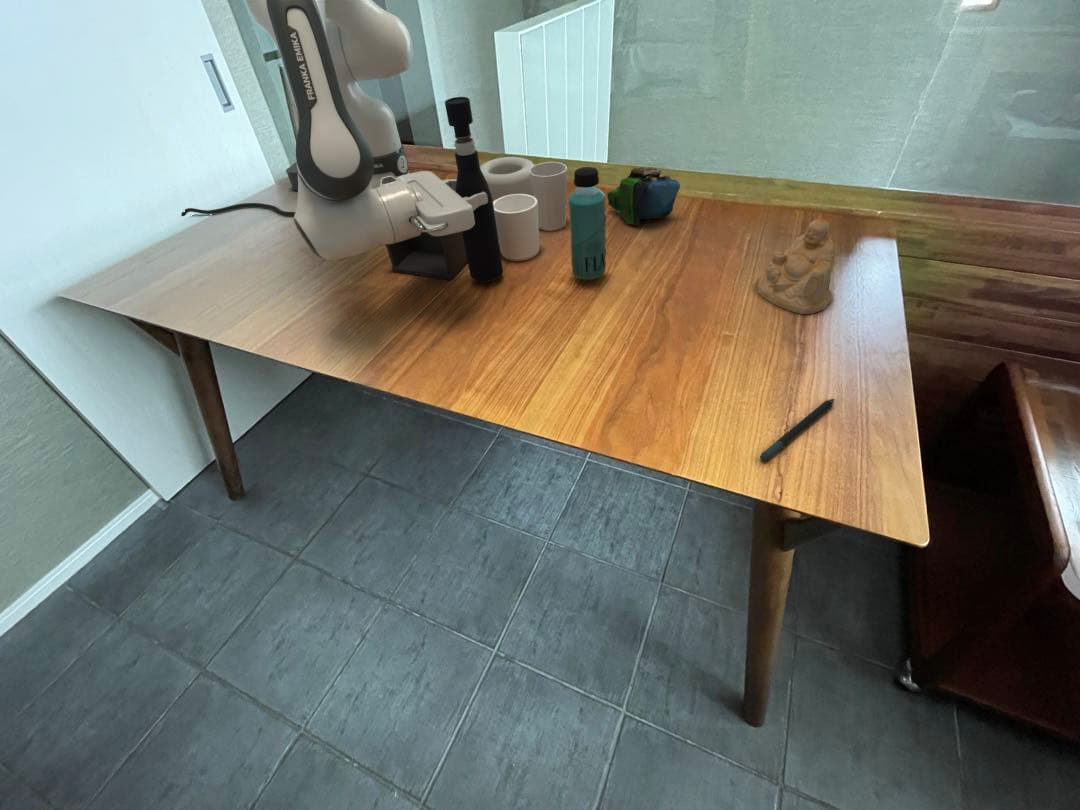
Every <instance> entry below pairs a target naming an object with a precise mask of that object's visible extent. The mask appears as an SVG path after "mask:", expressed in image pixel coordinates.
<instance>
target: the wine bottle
mask: <svg viewBox="0 0 1080 810" xmlns="http://www.w3.org/2000/svg"><path fill="white" fill-rule="evenodd" d="M470 100H471V99H470V98H469V97H467V96H457V97H451V98H448V99H446V100H445V101H444V106H445V112H446V117H447V123H448V126H450V127H452V128H453V132H454V138H455V140H454V144H453V146H454V148H455V150H454V151H455V153H454V157H455V164H456V168H457V174H456V179H457V181H456V193H457V194H458V195H460V196H461V197H462V198H464V197H468V198H469V197H471V196H473V195H474V192H479V191H481V190H482V191H484V192H485V193H486V194H487V197H488V203H486V204H483V205H480V206H479V207H477V208H476V209H475V210H474V211H473V213H474V219H475V225H474V226H473V227H472V228H471V229H469V230H465V231H462V235H463V240H464V245H465V250H466V256H467V261H468V263H467V266H468V269H469V275H470V278H471V279H472V280H474V281H476V282H481V283H488V282H492V281H496V280H498V279H499V278H500V277H501V276H502V275H503V273H504V268H503V267H504V266H503V261H502V254H501V249H500V244H499V239H498V233H497V226H496V219H495V212H494V205H493V199H492V195H491V192H490V189H489V186H488V184H487V181H486V179H485V177H484V175H483V173H482V171H481V169H480V166H481V164H480V160H479V154H478V153H479V152H478V151H477V149H476V146H475V144H476V142H475V141H474V139H473V138H472V133H471V128H470V125H471V124H473V123H474V120H473V112H472V107H471V106H472V105H471V101H470Z"/></svg>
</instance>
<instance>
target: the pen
mask: <svg viewBox="0 0 1080 810" xmlns="http://www.w3.org/2000/svg"><path fill="white" fill-rule="evenodd" d="M834 402H835V398H830V399H827V400H825V401H824V402H822V403H821V404H820V405H818V406H817V407H816V408H815V409H814V410H813V411H812V412H810V413H809V414H808V415H807V416H805V417H804V418H803V419H802V420H800V421H799V422H798V423H797V424H795V425H794V426H793V427H792V428H791V429H789V430H788V431H787V432H786V433H785V434H784V435H782V436H781V437H780V438H779V439H778V440H776V441H775V442H774V443H773V444H771V445H770V446H769V447H768V448H766V449H765V450H764V451H762V452H761V454H760V455H759V458H760V460H761V461H763V462H766V461H768V460H769V459H771V458H772V457H773V456H774V455H775V454H776V453H778V452H779V451H780V450H781V449H782V448H784V447H785V446H786V445H788V443H789V442H791V441H792V440H793V439H794V438H795V437H796V436H798V435H799V434H800V433H801V432H803V431H804V430H805V429H806V428H807V427H809V426H810V425H811V424H812V423H813V422H815V421H816V420H817V419H818V418H819V417H821V416H822V415H823V414H824V413H825V412H827V411H828V410H829V409H830V408H831V407H832V406H833V404H834Z"/></svg>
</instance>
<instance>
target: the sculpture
mask: <svg viewBox="0 0 1080 810" xmlns="http://www.w3.org/2000/svg"><path fill="white" fill-rule="evenodd" d="M661 174H662V169H660V168H656V167H654V166H653V167H651V166H647V167H646V166H640V167H637V168H636V167H633V168H631V170H630V173H629V175H628V176H627V177H624V178H622V179H621V180H620V182H619V186H617V187H615V189H613V190H610V191H609V192H607V195H606V196H607V201H608V203H607V204H608V206H610V207H611V208H612V209H613V210H614V211H615V212H617V213H618V214H621V217H622V218H623V219H624V221H625V225H635V226H636V225H640V220H648V219H649V220H650V219H658V218H667V217H668V216H669V215H670V214H671V213H672V212H673V210H674V204H675V202H676V198H677V196H678V193H679V191H680V189H681V183H680V182H679V181H678V180H677V179H672V176H670V175H669V174H664V175H662V176H660V175H661Z"/></svg>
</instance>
